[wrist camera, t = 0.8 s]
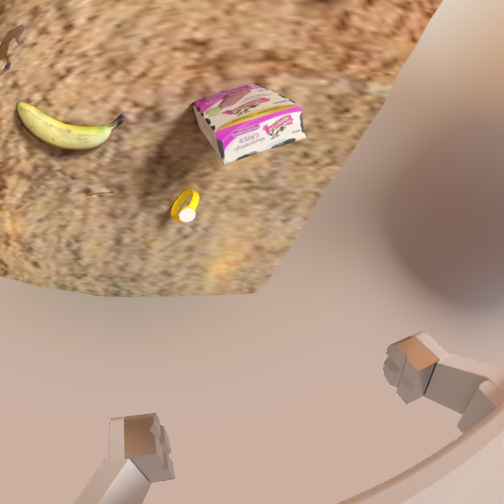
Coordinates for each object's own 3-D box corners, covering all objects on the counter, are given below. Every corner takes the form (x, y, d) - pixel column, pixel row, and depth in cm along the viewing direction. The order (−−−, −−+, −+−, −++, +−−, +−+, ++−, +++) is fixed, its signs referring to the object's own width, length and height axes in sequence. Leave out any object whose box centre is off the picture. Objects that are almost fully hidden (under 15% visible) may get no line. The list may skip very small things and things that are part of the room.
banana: (-36, 169, 36) (-44, 179, 34) (10, 12, 25) (1, 11, 23) (134, 219, 56) (135, 231, 53) (204, 81, 45) (209, 85, 42)
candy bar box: (255, 80, 47) (302, 103, 35) (261, 107, 51) (308, 139, 39) (189, 101, 46) (213, 130, 34) (198, 128, 49) (224, 167, 38)
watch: (177, 212, 58) (181, 232, 54) (166, 204, 56) (168, 224, 52) (199, 189, 56) (205, 208, 52) (188, 181, 55) (192, 199, 51)
